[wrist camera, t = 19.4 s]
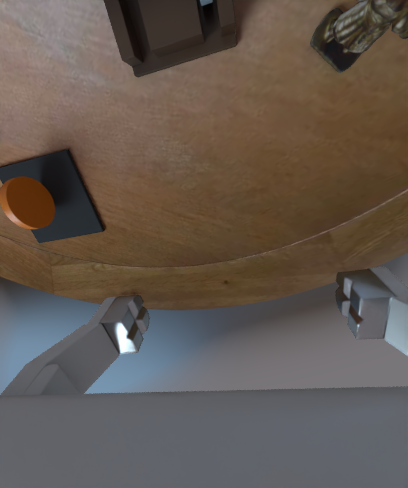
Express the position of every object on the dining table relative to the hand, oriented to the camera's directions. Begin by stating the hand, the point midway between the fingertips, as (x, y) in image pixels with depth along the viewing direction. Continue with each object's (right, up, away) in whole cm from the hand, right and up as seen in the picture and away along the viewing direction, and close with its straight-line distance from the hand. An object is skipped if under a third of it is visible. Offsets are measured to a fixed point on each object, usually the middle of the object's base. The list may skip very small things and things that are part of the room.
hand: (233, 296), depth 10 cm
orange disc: (-28, +8, +26) cm, 39 cm away
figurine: (+15, +25, +17) cm, 34 cm away
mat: (-28, +10, +30) cm, 42 cm away
